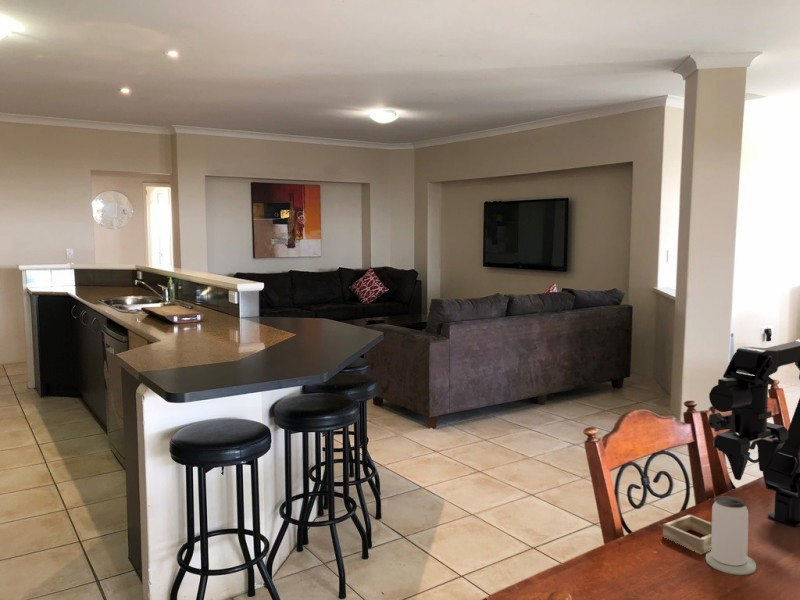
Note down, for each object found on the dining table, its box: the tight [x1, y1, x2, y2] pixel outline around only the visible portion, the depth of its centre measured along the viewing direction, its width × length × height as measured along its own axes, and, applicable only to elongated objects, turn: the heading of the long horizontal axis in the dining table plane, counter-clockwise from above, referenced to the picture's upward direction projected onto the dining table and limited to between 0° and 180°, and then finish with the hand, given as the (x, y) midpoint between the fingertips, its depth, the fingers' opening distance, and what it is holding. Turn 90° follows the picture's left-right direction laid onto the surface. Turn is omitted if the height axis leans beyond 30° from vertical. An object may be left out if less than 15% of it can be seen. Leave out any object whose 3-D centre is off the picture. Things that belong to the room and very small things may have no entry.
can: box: [711, 495, 749, 566], centre depth 130 cm, size 6×6×12 cm
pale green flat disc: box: [705, 551, 757, 576], centre depth 130 cm, size 9×9×1 cm
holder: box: [662, 514, 712, 555], centre depth 140 cm, size 9×9×3 cm
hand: (750, 475), depth 142 cm, fingers open, 9 cm apart
